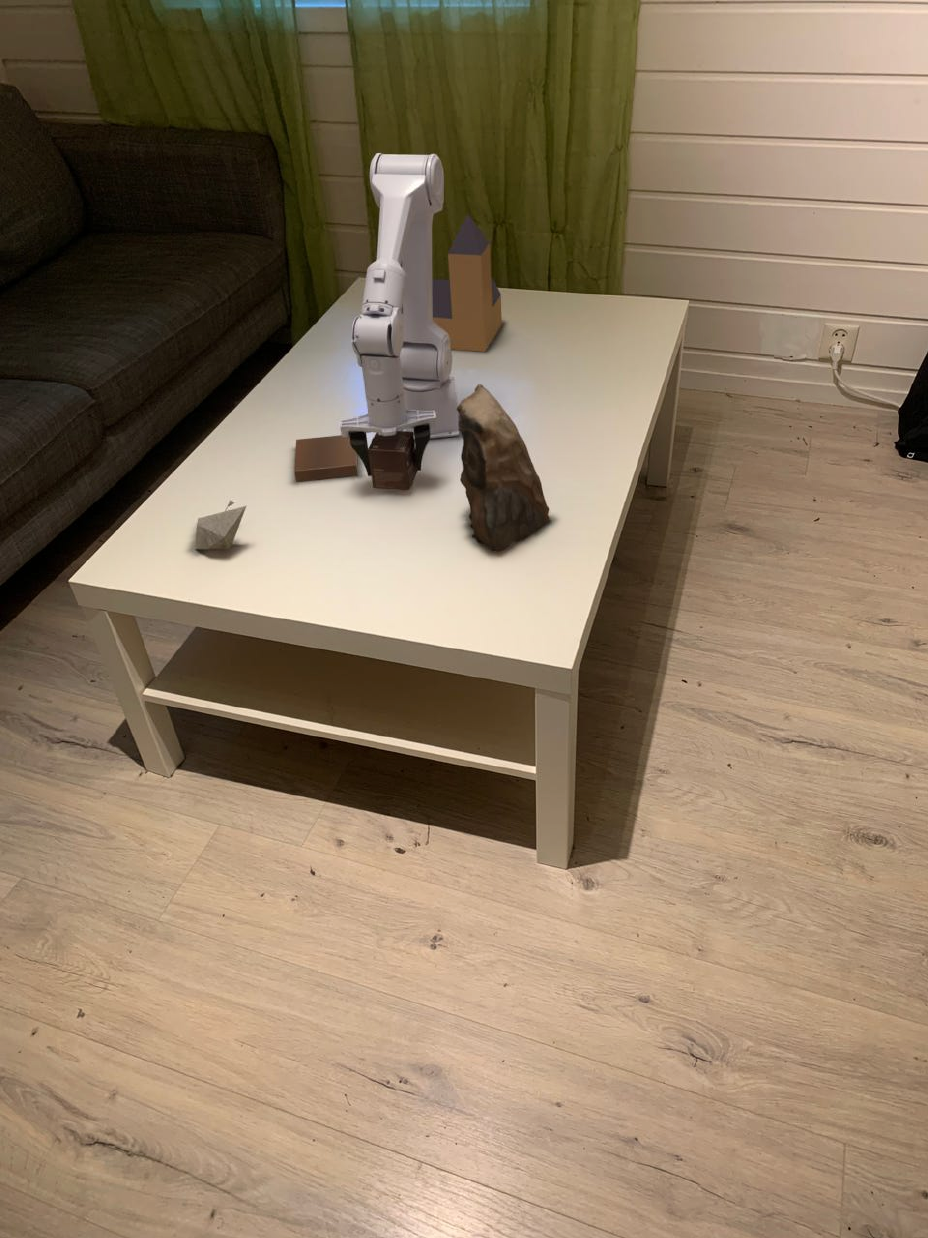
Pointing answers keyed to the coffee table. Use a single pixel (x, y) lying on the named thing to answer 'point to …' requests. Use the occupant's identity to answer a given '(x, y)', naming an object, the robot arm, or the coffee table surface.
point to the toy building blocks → (468, 293)
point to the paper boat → (218, 529)
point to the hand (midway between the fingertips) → (394, 470)
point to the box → (393, 461)
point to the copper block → (324, 458)
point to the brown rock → (498, 474)
